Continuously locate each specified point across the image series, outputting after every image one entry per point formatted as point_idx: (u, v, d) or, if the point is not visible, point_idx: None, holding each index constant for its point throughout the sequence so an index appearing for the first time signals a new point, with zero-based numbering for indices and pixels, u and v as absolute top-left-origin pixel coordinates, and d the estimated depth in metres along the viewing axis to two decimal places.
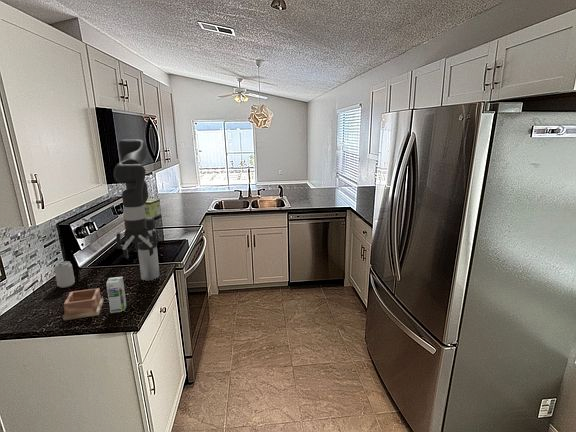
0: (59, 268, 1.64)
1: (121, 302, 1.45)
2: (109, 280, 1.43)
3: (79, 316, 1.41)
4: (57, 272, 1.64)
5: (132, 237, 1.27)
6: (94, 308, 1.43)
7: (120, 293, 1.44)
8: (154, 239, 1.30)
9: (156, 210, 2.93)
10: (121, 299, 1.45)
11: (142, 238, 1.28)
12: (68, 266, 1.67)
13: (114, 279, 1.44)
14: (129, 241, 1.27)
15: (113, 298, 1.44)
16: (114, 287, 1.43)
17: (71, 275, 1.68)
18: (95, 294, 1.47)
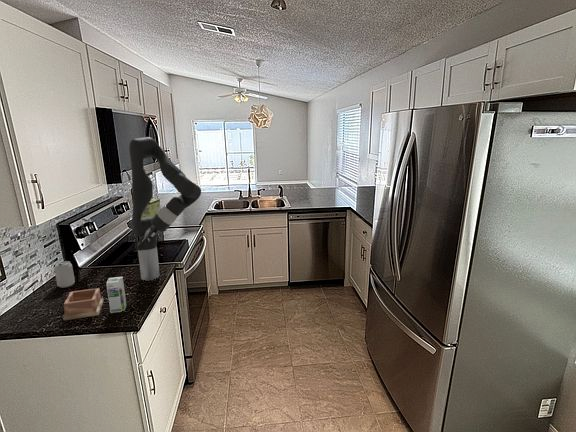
0: (59, 268, 1.64)
1: (121, 302, 1.45)
2: (109, 280, 1.43)
3: (79, 316, 1.41)
4: (57, 272, 1.64)
5: None
6: (94, 308, 1.43)
7: (120, 293, 1.44)
8: None
9: (156, 210, 2.93)
10: (121, 299, 1.45)
11: None
12: (68, 266, 1.67)
13: (114, 279, 1.44)
14: None
15: (113, 298, 1.44)
16: (114, 287, 1.43)
17: (71, 275, 1.68)
18: (95, 294, 1.47)
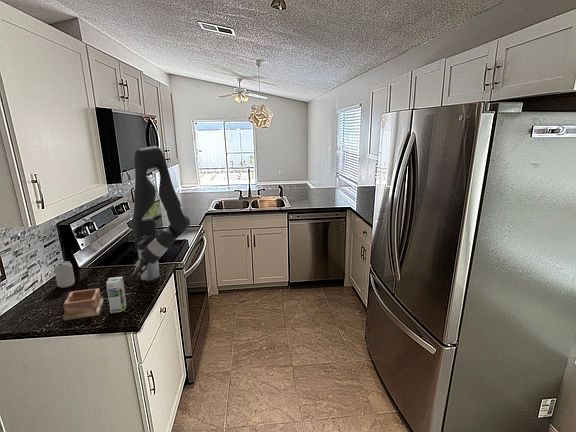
0: (59, 268, 1.64)
1: (121, 302, 1.45)
2: (109, 280, 1.43)
3: (79, 316, 1.41)
4: (57, 272, 1.64)
5: None
6: (94, 308, 1.43)
7: (120, 293, 1.44)
8: None
9: (156, 210, 2.93)
10: (121, 299, 1.45)
11: None
12: (68, 266, 1.67)
13: (114, 279, 1.44)
14: None
15: (113, 298, 1.44)
16: (114, 287, 1.43)
17: (71, 275, 1.68)
18: (95, 294, 1.47)
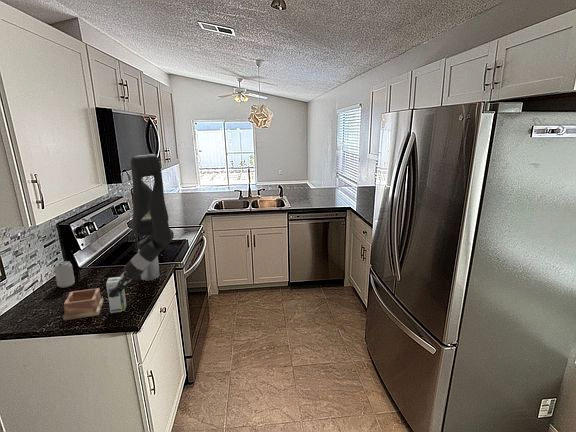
0: (59, 268, 1.64)
1: (121, 302, 1.45)
2: (109, 280, 1.43)
3: (79, 316, 1.41)
4: (57, 272, 1.64)
5: None
6: (94, 308, 1.43)
7: (120, 293, 1.44)
8: None
9: None
10: (121, 299, 1.45)
11: None
12: (68, 266, 1.67)
13: (114, 279, 1.44)
14: None
15: (113, 298, 1.44)
16: (114, 287, 1.43)
17: (71, 275, 1.68)
18: (95, 294, 1.47)
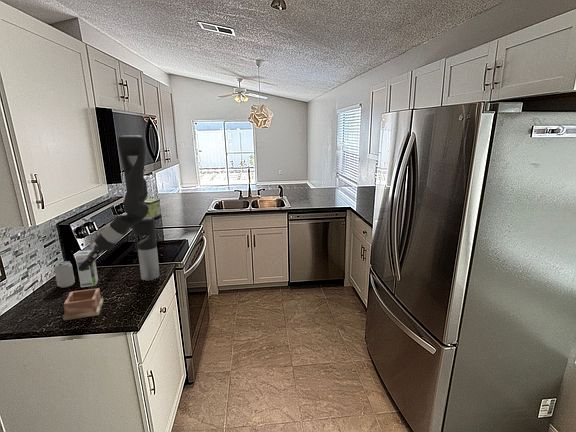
0: (59, 268, 1.64)
1: (92, 276, 1.41)
2: (79, 253, 1.39)
3: (79, 316, 1.41)
4: (57, 272, 1.64)
5: None
6: (94, 308, 1.43)
7: (90, 266, 1.40)
8: None
9: (156, 210, 2.93)
10: (92, 273, 1.41)
11: None
12: (68, 266, 1.67)
13: (84, 252, 1.40)
14: None
15: (83, 272, 1.40)
16: (84, 260, 1.39)
17: (71, 275, 1.68)
18: (95, 294, 1.47)
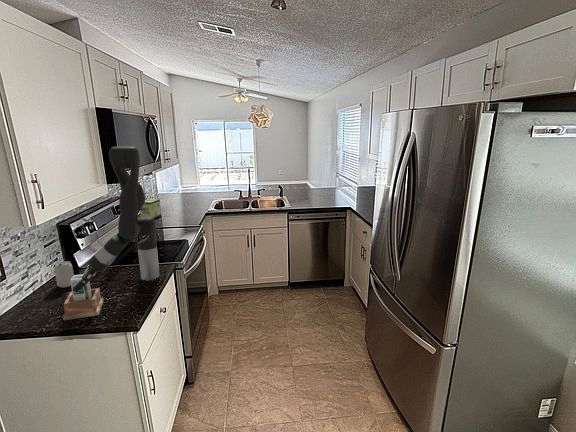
0: (59, 268, 1.64)
1: (86, 299, 1.44)
2: (73, 277, 1.42)
3: (79, 316, 1.41)
4: (57, 272, 1.64)
5: None
6: (94, 308, 1.43)
7: (85, 290, 1.43)
8: None
9: (156, 210, 2.93)
10: (86, 296, 1.44)
11: None
12: (68, 266, 1.67)
13: (79, 276, 1.43)
14: None
15: (78, 296, 1.43)
16: None
17: (71, 275, 1.68)
18: (95, 294, 1.47)
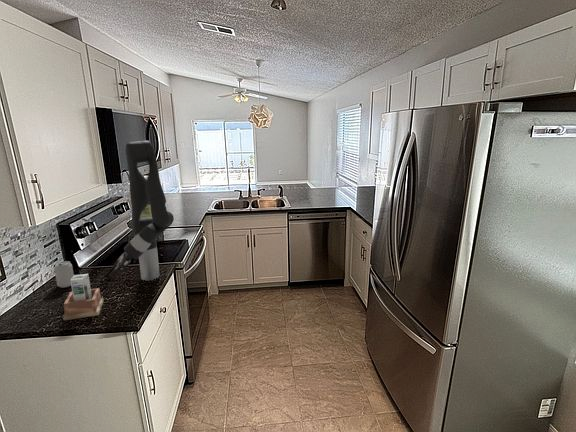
0: (59, 268, 1.64)
1: (86, 299, 1.44)
2: (74, 277, 1.42)
3: (79, 316, 1.41)
4: (57, 272, 1.64)
5: None
6: (94, 308, 1.43)
7: (85, 290, 1.43)
8: None
9: None
10: (86, 296, 1.44)
11: None
12: (68, 266, 1.67)
13: (79, 276, 1.43)
14: None
15: (78, 296, 1.43)
16: (79, 284, 1.42)
17: (71, 275, 1.68)
18: (95, 294, 1.47)
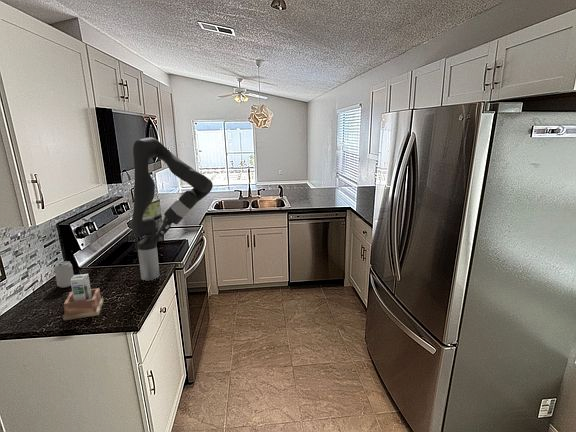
0: (59, 268, 1.64)
1: (86, 299, 1.44)
2: (74, 277, 1.42)
3: (79, 316, 1.41)
4: (57, 272, 1.64)
5: None
6: (94, 308, 1.43)
7: (85, 290, 1.43)
8: None
9: (156, 210, 2.93)
10: (86, 296, 1.44)
11: None
12: (68, 266, 1.67)
13: (79, 276, 1.43)
14: None
15: (78, 296, 1.43)
16: (79, 284, 1.42)
17: (71, 275, 1.68)
18: (95, 294, 1.47)
